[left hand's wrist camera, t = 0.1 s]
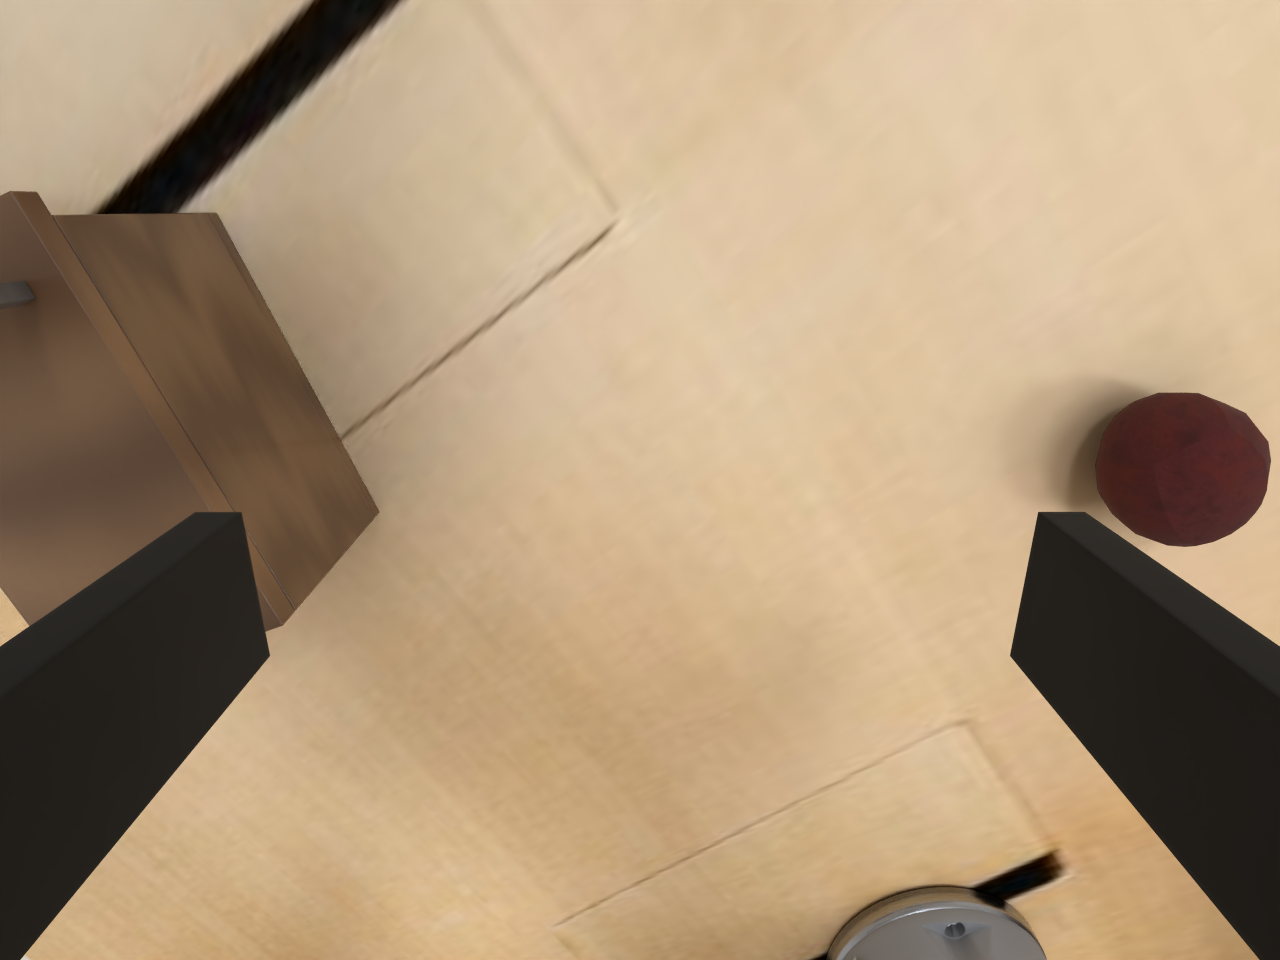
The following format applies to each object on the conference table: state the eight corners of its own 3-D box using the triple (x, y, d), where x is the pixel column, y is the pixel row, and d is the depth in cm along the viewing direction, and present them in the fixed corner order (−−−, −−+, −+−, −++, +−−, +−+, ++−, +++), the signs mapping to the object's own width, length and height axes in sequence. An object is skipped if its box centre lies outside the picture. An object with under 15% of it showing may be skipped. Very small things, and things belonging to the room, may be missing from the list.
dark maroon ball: (1098, 534, 43) (1182, 594, 36) (1043, 425, 41) (1122, 468, 34) (1225, 466, 41) (1337, 516, 35) (1175, 349, 39) (1285, 378, 32)
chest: (50, 285, 38) (-168, 315, 28) (216, 212, 37) (52, 214, 27) (230, 568, 44) (102, 680, 33) (380, 512, 42) (296, 610, 32)
